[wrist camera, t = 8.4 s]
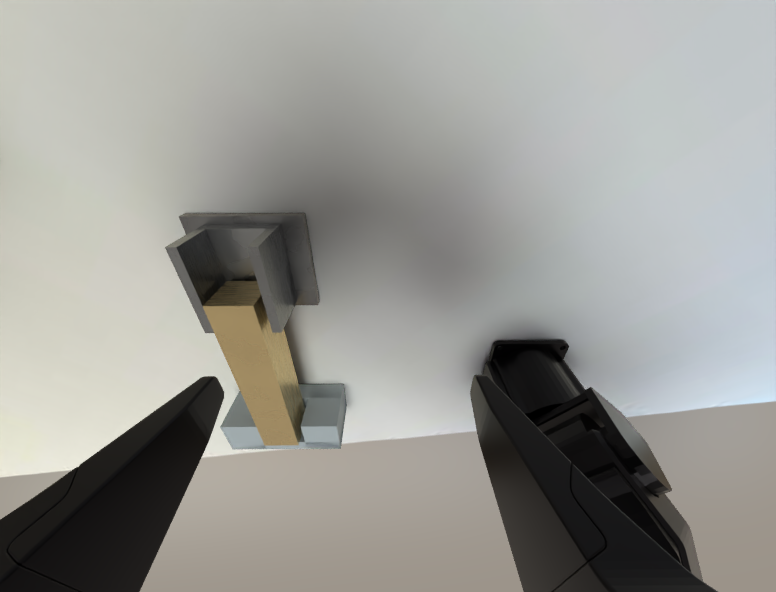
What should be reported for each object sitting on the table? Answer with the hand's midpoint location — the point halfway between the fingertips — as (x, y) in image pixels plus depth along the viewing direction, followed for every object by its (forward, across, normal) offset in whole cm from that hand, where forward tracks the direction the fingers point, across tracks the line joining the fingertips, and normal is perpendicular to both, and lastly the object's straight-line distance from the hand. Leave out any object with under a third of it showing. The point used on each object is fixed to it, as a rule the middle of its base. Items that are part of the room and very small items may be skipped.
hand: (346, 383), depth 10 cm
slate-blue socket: (+12, +8, +16) cm, 22 cm away
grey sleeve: (+12, +8, +1) cm, 14 cm away
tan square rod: (+10, +8, +9) cm, 16 cm away
